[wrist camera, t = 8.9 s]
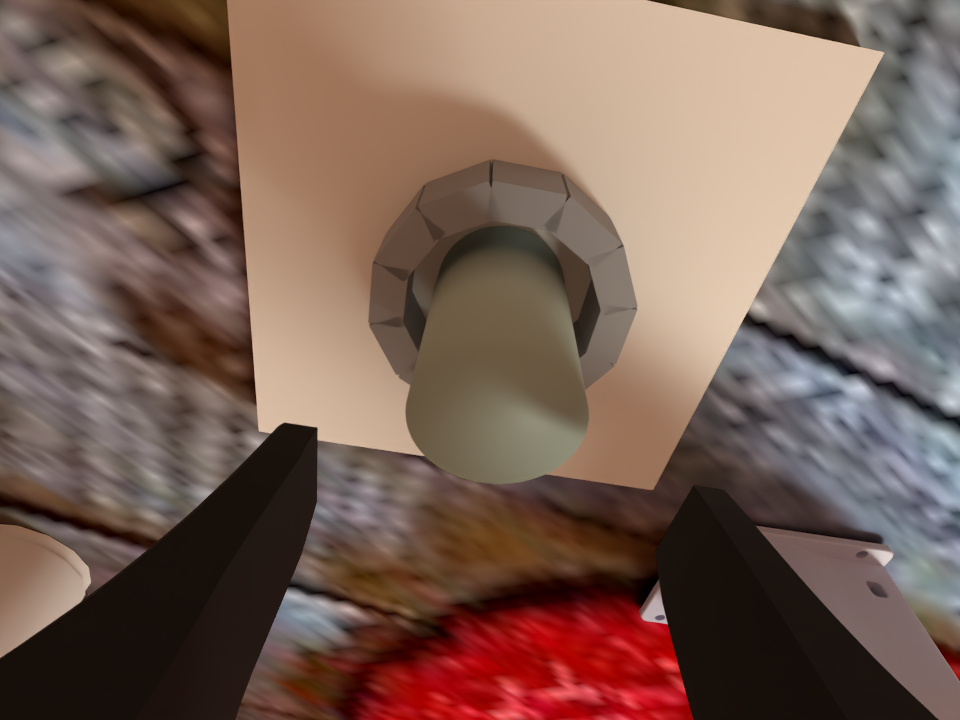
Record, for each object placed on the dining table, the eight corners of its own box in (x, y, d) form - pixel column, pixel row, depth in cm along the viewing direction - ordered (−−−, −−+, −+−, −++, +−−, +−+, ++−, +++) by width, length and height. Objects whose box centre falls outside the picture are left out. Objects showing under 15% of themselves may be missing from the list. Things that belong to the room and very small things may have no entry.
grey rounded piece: (581, 242, 16) (616, 366, 11) (543, 350, 19) (557, 497, 13) (451, 212, 16) (421, 324, 11) (428, 325, 18) (393, 465, 13)
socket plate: (861, 48, 14) (938, 61, 12) (647, 472, 23) (665, 530, 21) (237, -89, 13) (175, -107, 10) (267, 414, 22) (238, 468, 19)
